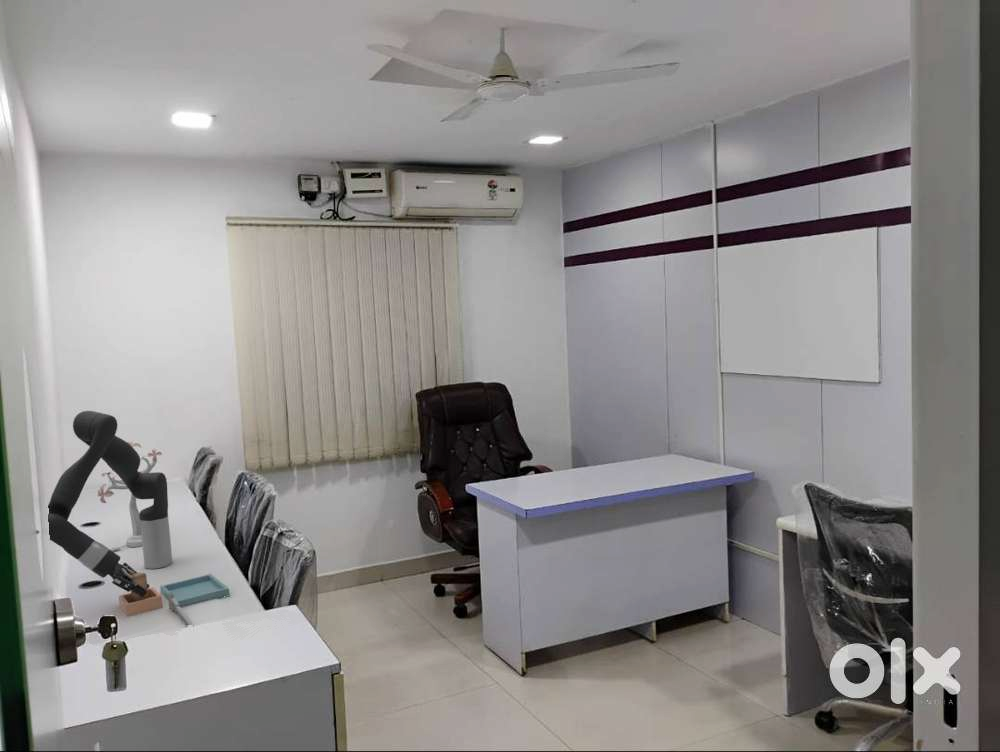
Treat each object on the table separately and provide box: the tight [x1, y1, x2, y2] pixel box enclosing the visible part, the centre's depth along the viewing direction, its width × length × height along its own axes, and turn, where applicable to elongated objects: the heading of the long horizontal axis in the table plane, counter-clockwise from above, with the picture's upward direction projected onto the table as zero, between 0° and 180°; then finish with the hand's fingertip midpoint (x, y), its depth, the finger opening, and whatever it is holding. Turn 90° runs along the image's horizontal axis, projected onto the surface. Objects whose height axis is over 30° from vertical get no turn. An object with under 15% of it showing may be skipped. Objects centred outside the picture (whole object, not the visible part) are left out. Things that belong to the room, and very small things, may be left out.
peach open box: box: [118, 587, 163, 617], centre depth 247 cm, size 10×10×4 cm
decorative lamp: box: [97, 440, 163, 552], centre depth 311 cm, size 28×24×40 cm
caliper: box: [167, 592, 194, 626], centre depth 237 cm, size 20×1×6 cm, turn 39°
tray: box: [159, 573, 230, 608], centre depth 257 cm, size 18×16×2 cm
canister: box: [130, 572, 148, 602], centre depth 247 cm, size 5×5×10 cm
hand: (146, 591), depth 247 cm, fingers closed on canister, 4 cm apart
